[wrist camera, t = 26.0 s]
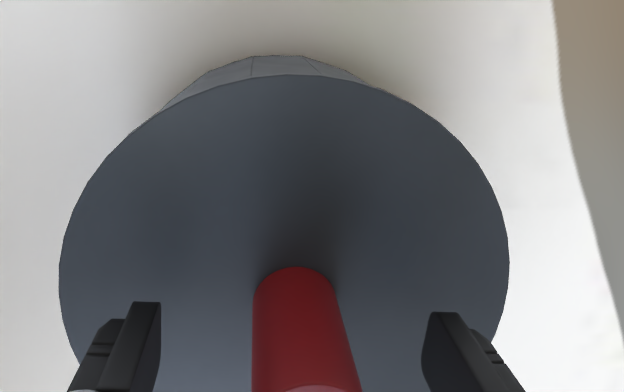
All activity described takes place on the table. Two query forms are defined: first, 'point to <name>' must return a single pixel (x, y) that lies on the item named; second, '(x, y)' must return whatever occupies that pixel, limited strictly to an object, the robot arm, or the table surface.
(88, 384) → the robot arm
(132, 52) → the table surface
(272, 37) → the table surface
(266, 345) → the lid
